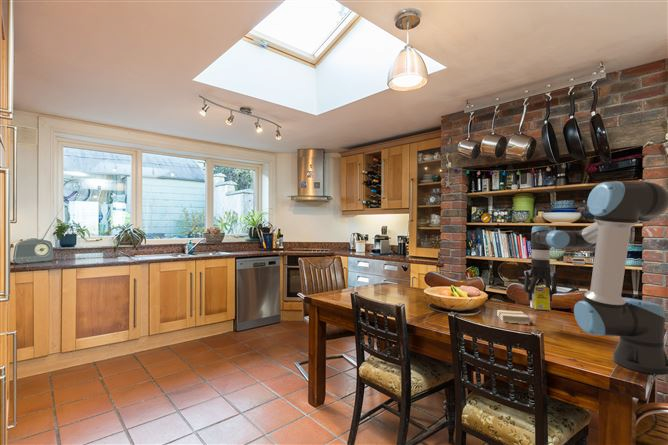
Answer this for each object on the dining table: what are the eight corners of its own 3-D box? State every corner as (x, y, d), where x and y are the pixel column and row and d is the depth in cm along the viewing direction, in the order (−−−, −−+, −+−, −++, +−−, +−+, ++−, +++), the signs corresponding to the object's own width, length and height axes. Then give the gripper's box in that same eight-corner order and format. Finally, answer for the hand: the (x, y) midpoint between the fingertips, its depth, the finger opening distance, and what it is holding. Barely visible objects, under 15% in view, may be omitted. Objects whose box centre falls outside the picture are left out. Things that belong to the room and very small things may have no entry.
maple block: (529, 325, 168) (529, 317, 168) (503, 323, 170) (503, 315, 170) (521, 318, 179) (521, 311, 179) (496, 317, 182) (497, 309, 182)
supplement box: (549, 311, 157) (549, 288, 157) (535, 310, 158) (535, 287, 159) (544, 308, 163) (544, 285, 163) (530, 308, 164) (530, 285, 164)
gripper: (559, 258, 163) (558, 307, 162) (516, 257, 167) (515, 304, 166) (566, 260, 156) (566, 311, 155) (521, 258, 159) (520, 308, 159)
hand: (539, 307), depth 161 cm, fingers closed on supplement box, 6 cm apart
